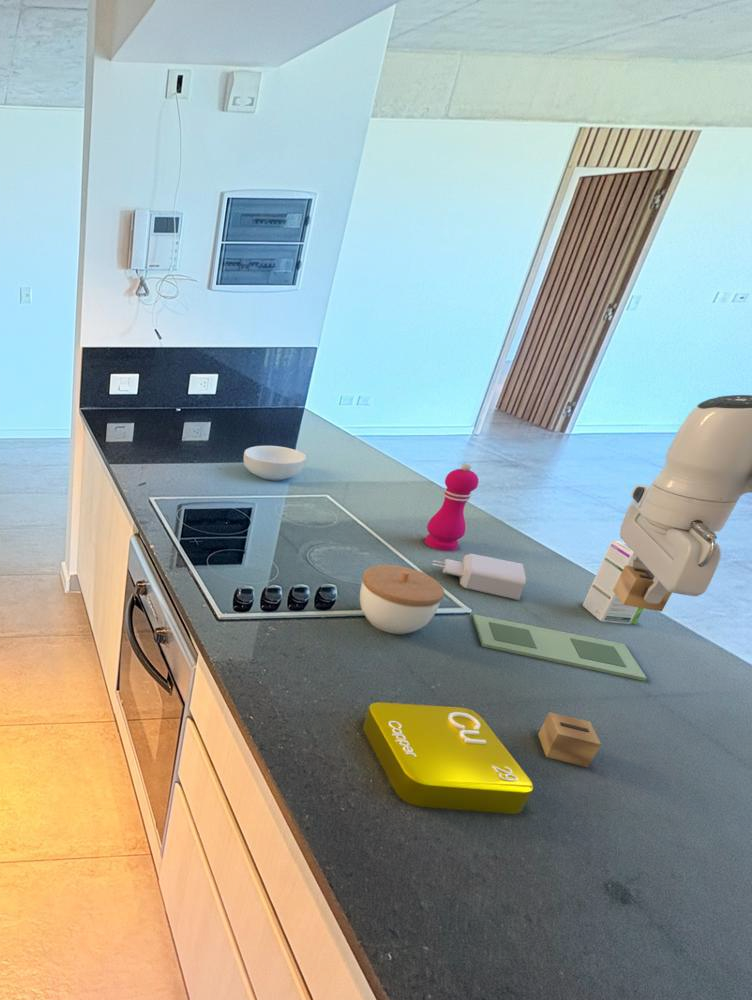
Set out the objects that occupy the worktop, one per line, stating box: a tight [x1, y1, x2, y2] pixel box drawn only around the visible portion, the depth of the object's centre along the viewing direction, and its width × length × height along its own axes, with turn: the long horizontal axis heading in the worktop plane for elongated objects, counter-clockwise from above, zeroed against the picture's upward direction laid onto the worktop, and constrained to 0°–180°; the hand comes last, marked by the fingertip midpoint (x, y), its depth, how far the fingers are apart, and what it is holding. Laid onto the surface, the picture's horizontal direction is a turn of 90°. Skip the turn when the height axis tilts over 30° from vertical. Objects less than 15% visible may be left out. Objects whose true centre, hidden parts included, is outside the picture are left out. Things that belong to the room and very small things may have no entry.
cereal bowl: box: [243, 445, 307, 481], centre depth 179 cm, size 17×17×7 cm
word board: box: [472, 613, 647, 682], centre depth 106 cm, size 22×10×1 cm, turn 65°
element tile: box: [362, 701, 534, 815], centre depth 82 cm, size 15×15×5 cm
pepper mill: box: [424, 462, 479, 552], centre depth 136 cm, size 7×7×20 cm
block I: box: [537, 711, 602, 769], centre depth 84 cm, size 5×5×5 cm
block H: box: [613, 566, 673, 612], centre depth 94 cm, size 5×5×5 cm
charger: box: [432, 553, 527, 601], centre depth 125 cm, size 5×9×15 cm
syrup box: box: [582, 540, 645, 625], centre depth 112 cm, size 6×6×14 cm
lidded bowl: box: [359, 564, 445, 635], centre depth 110 cm, size 13×13×11 cm
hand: (641, 591), depth 94 cm, fingers closed on block H, 4 cm apart
